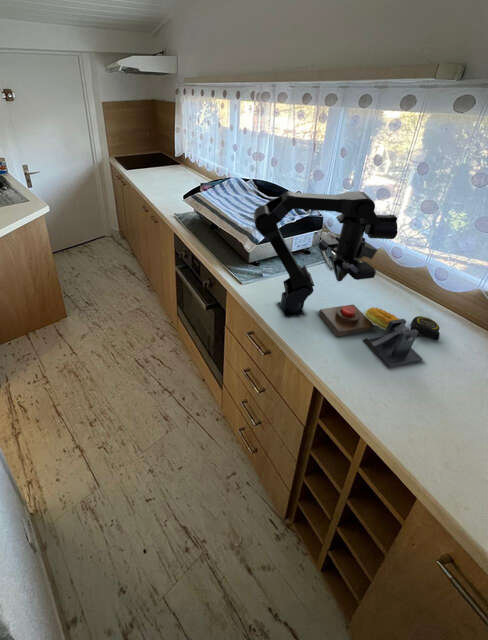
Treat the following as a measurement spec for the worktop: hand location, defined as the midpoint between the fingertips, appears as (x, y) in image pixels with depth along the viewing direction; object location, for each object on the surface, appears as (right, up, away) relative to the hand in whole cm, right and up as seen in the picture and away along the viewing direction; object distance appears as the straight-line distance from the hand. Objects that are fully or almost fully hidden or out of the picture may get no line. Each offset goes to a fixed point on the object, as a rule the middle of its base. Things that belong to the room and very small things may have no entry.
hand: (338, 280), depth 94 cm
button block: (+3, -14, +2) cm, 14 cm away
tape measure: (+24, -16, -2) cm, 29 cm away
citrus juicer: (+15, +3, +26) cm, 30 cm away
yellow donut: (+14, -10, -3) cm, 17 cm away
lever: (+8, -15, -11) cm, 20 cm away
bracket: (+11, -19, -8) cm, 24 cm away
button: (+3, -10, 0) cm, 11 cm away
